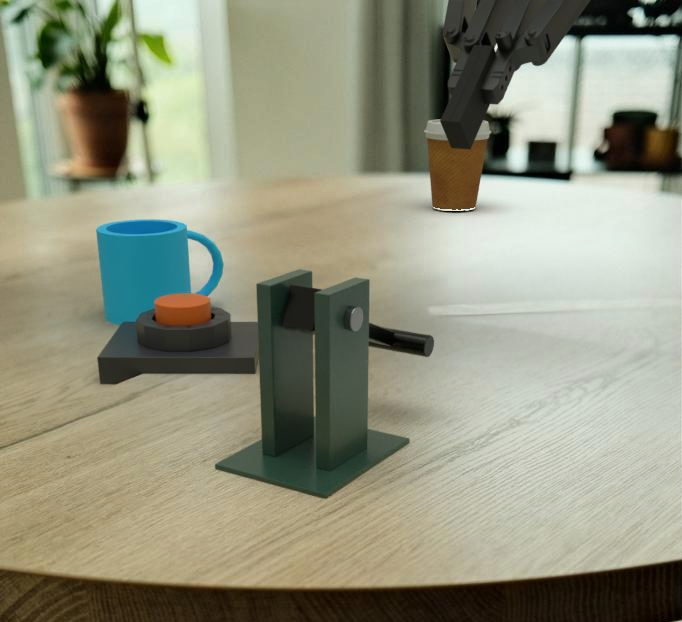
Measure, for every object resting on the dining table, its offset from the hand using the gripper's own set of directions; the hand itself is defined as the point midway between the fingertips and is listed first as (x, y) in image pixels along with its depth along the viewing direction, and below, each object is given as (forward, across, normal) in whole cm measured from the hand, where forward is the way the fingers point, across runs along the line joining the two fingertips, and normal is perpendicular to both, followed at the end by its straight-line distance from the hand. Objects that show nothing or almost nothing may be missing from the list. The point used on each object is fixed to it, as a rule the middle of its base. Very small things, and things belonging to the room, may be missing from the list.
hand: (455, 135), depth 70 cm
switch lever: (+18, 0, +2) cm, 18 cm away
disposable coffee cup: (-38, +35, -64) cm, 82 cm away
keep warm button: (+15, +20, -6) cm, 26 cm away
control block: (+17, +20, -9) cm, 28 cm away
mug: (+9, +32, -17) cm, 37 cm away
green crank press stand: (+26, 0, 0) cm, 26 cm away
